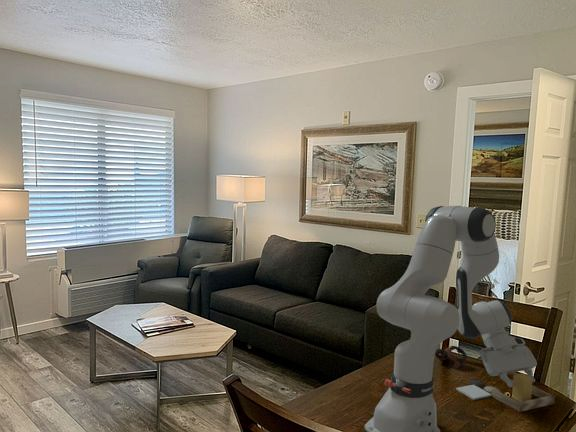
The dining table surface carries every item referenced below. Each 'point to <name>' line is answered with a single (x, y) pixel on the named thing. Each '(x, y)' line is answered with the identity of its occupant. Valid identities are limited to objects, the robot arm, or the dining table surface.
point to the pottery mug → (451, 355)
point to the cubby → (526, 405)
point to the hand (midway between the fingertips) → (522, 384)
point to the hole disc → (477, 383)
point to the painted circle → (490, 389)
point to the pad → (473, 392)
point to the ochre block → (522, 387)
